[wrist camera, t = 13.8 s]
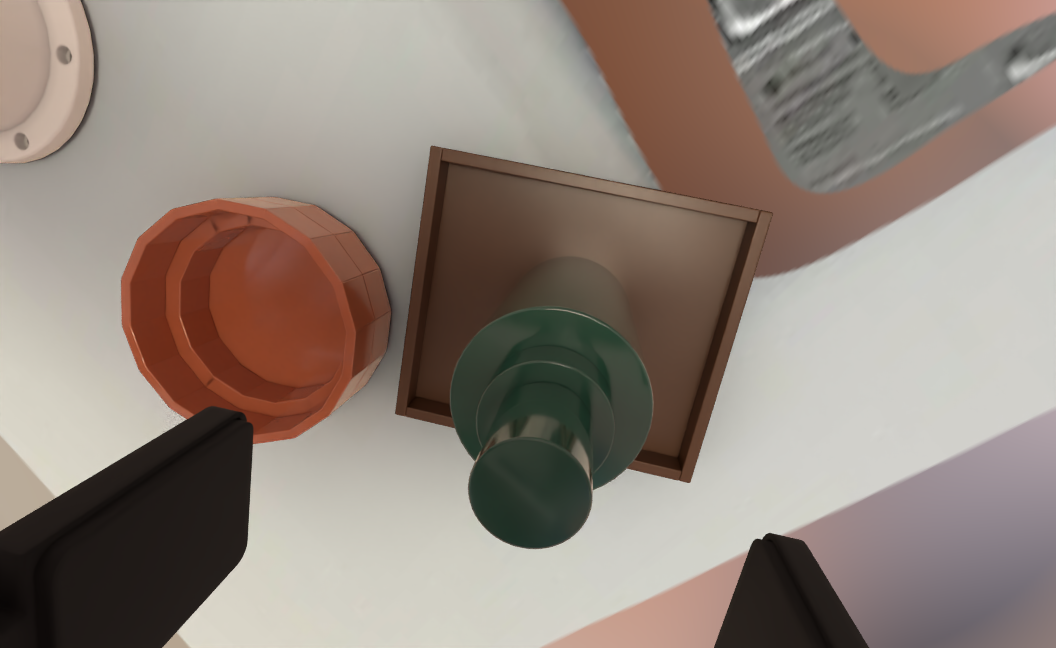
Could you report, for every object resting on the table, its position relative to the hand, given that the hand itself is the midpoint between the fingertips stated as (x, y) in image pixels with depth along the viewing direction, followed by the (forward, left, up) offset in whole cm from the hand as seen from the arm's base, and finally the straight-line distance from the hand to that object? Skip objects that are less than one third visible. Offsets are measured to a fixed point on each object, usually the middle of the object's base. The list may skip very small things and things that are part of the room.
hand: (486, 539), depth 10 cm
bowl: (-15, -3, -20) cm, 25 cm away
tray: (+1, 0, -20) cm, 20 cm away
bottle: (+1, 0, -19) cm, 19 cm away
